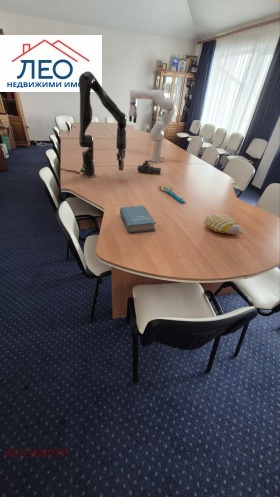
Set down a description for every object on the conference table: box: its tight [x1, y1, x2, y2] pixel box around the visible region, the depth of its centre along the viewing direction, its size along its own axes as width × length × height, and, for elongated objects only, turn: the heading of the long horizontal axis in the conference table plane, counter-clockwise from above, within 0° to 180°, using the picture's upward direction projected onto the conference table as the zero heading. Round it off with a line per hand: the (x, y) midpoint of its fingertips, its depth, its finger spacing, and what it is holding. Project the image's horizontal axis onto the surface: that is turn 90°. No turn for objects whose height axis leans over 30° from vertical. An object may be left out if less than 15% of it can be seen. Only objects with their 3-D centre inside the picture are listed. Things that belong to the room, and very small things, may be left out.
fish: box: [203, 213, 245, 235], centre depth 133 cm, size 25×8×20 cm
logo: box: [158, 185, 186, 204], centre depth 176 cm, size 34×10×1 cm, turn 16°
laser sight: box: [137, 160, 162, 175], centre depth 213 cm, size 10×22×10 cm, turn 78°
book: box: [119, 205, 156, 233], centre depth 136 cm, size 23×16×5 cm
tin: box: [117, 158, 125, 172], centre depth 183 cm, size 4×4×9 cm
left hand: (121, 164), depth 184 cm, fingers closed on tin, 4 cm apart
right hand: (132, 122), depth 248 cm, fingers open, 9 cm apart
